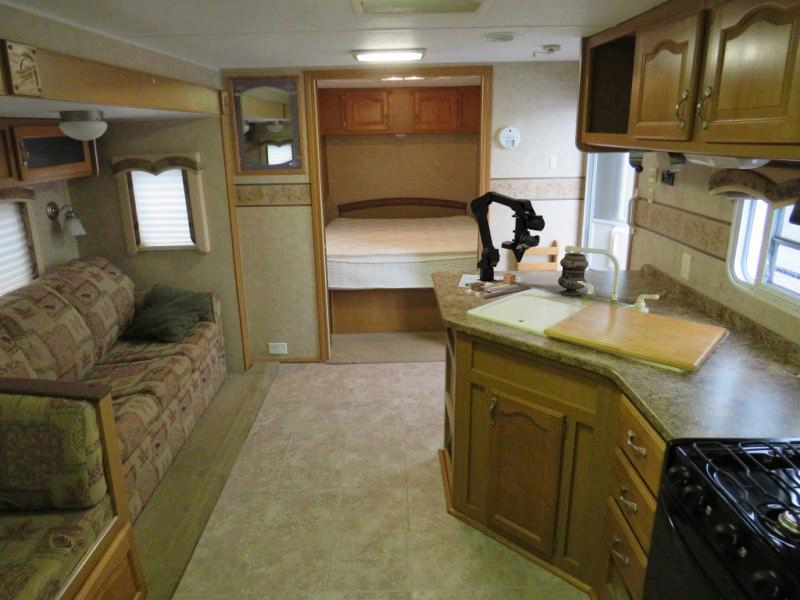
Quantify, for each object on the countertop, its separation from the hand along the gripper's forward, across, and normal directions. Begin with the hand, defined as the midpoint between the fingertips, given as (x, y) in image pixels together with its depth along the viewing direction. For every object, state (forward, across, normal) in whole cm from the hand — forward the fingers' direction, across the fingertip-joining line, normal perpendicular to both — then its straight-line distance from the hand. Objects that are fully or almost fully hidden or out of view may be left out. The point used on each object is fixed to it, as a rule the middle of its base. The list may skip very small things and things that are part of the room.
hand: (518, 262), depth 249 cm
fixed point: (+11, -20, +2) cm, 23 cm away
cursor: (+11, 0, +2) cm, 11 cm away
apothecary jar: (+12, +11, -22) cm, 27 cm away
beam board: (+12, -10, +2) cm, 16 cm away
